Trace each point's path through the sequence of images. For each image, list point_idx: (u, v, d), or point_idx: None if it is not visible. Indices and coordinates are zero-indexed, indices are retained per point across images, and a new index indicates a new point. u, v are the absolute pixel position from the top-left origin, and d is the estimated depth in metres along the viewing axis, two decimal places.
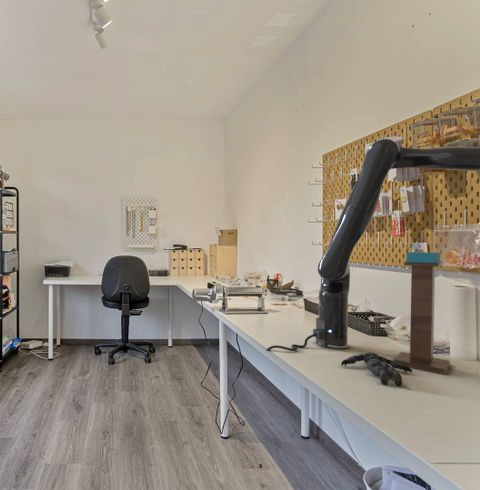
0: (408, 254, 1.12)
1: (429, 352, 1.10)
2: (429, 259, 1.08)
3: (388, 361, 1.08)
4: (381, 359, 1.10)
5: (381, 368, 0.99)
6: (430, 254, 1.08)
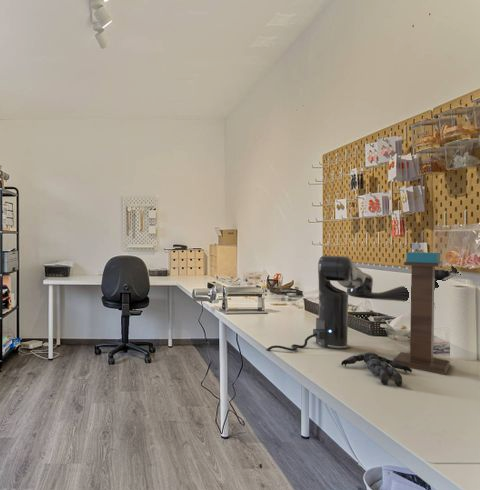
0: (408, 254, 1.12)
1: (429, 352, 1.10)
2: (429, 259, 1.08)
3: (388, 361, 1.08)
4: (381, 359, 1.10)
5: (381, 368, 0.99)
6: (430, 254, 1.08)
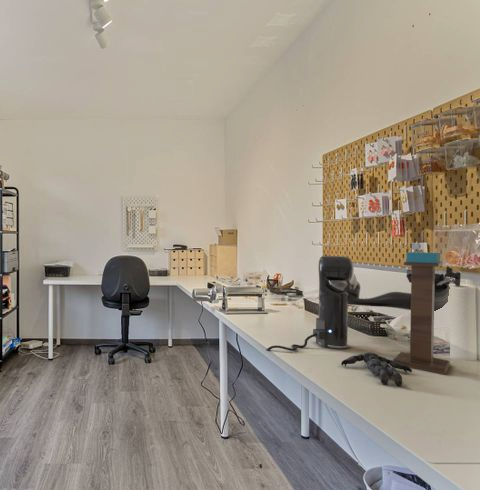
0: (408, 254, 1.12)
1: (429, 352, 1.10)
2: (429, 259, 1.08)
3: (388, 361, 1.08)
4: (381, 359, 1.10)
5: (381, 368, 0.99)
6: (430, 254, 1.08)
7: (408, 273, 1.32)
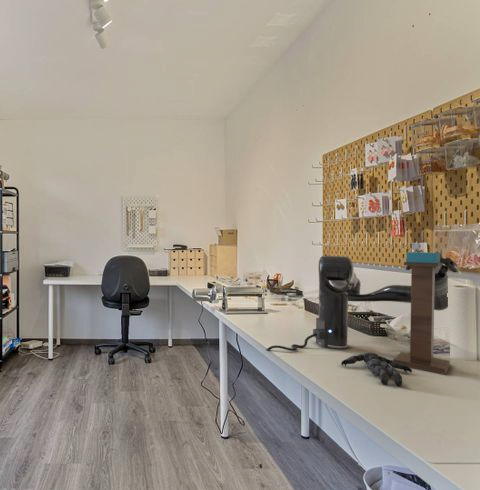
0: (408, 254, 1.12)
1: (429, 352, 1.10)
2: (429, 259, 1.08)
3: (388, 361, 1.08)
4: (381, 359, 1.10)
5: (381, 368, 0.99)
6: (430, 254, 1.08)
7: None
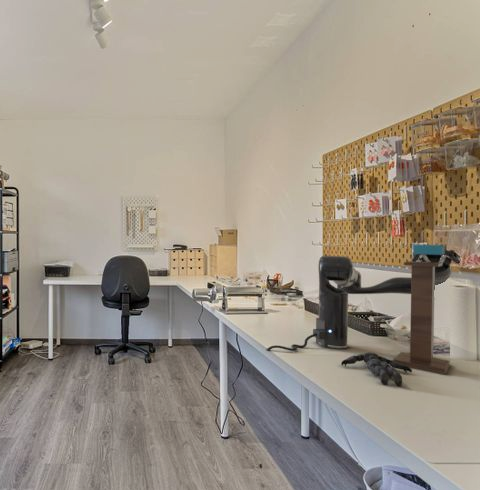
0: (415, 246, 1.20)
1: (429, 352, 1.10)
2: (434, 251, 1.16)
3: (388, 361, 1.08)
4: (381, 359, 1.10)
5: (381, 368, 0.99)
6: (435, 246, 1.16)
7: None
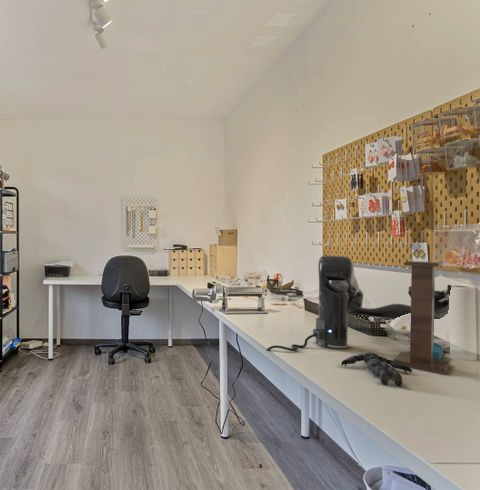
0: None
1: (429, 352, 1.10)
2: None
3: (388, 361, 1.08)
4: (381, 359, 1.10)
5: (381, 368, 0.99)
6: (433, 353, 1.17)
7: (410, 290, 1.35)
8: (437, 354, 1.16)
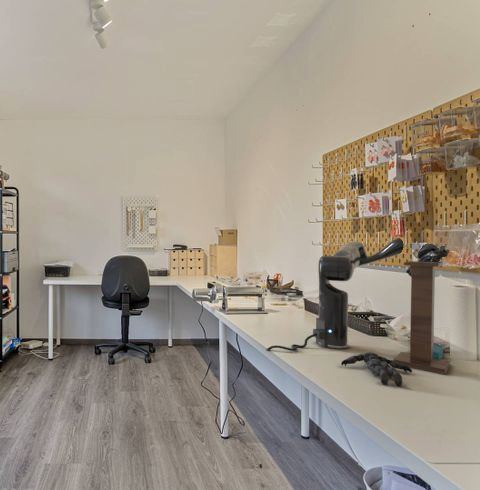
0: None
1: (429, 352, 1.10)
2: None
3: (388, 361, 1.08)
4: (381, 359, 1.10)
5: (381, 368, 0.99)
6: (433, 353, 1.17)
7: None
8: (437, 354, 1.16)
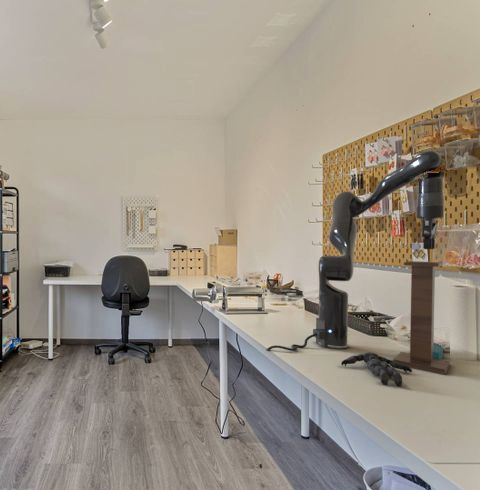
0: None
1: (429, 352, 1.10)
2: None
3: (388, 361, 1.08)
4: (381, 359, 1.10)
5: (381, 368, 0.99)
6: (433, 353, 1.17)
7: None
8: (437, 354, 1.16)
